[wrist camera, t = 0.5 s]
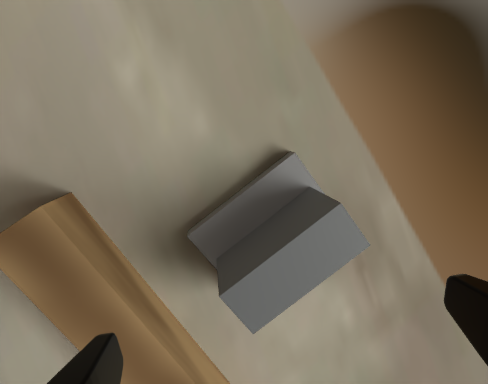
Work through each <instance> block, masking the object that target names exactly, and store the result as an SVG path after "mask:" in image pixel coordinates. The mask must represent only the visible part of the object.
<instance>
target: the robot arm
mask: <svg viewBox="0 0 488 384" xmlns="http://www.w3.org/2000/svg"><path fill="white" fill-rule="evenodd" d="M444 304H445V307H446V309H447V310H448V312H449V313H450V315H451V316H452V317H453V319H454V320H455V322H456V323H457V324H458V326H459V327H460V329H461V330H462V331H463V333H464V334H465V336H466V337H467V338H468V340H469V341H470V343H471V344H472V345H473V347H474V348H475V350H476V351H477V352H478V354H479V355H480V356H481V358H482V359H483V360H484V362H485V363H486V364H487V366H488V282H487V281H484V280H481V279H478V278H476V277H472V276H470V275H467V274H459V275H453V276H450V277H449V278H448V279H447V282H446V289H445V296H444ZM122 371H123V355H122V352H121V349H120V345H119V342H118V339H117V336H116V335H115V333H112V332H111V333H105V334H99V335H97V336H96V337H94V338H93V339H92V340H91V341H90V342H89V343H88V344H87V345H86V346H85V347H84V348H83V349H82V350H81V351H80V352H79V353H78V354H77V355H76V356H75V357H74V358H73V359H72V360H71V361H70V362H69V363H68V364H66V365H65V366H64V367H63V368H62V369H61V370H60V371H59V372H58V373H57V374H56V375H55V376H54V377H53V378H52V379H51V380H50V381H49V382H48V383H47V384H121V377H122Z"/></svg>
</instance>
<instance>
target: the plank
mask: <svg viewBox="0 0 488 384" xmlns="http://www.w3.org/2000/svg"><path fill="white" fill-rule="evenodd" d="M0 269H1V270H2V271H3V272H4V273H5V274H6V275H7V276H8V277H9V278H10V279H11V280H12V281H13V282H14V283H15V284H16V285H17V287H18V288H19V289H20V290H21V291H22V292H23V293H24V294H25V295H26V296H27V297H28V298H29V299H30V300H31V301H32V302H33V303H34V304H35V305H36V306H37V307H38V308H39V309H40V310H41V311H42V312H43V313H44V314H45V315H46V317H47V318H48V319H49V320H50V321H51V322H52V323H53V324H54V325H55V326H56V327H57V328H58V329H59V330H60V331H61V332H62V333H63V334H64V335H65V336H66V337H67V338H68V339H69V340H70V341H71V342H72V343H73V344H74V345H75V346H76V348H77V349H78V350H79V351H81V350H82V349H83V348H84V347H85V346H86V345H87V344H88V343H89V342H90V341H91V340H92V339H93V338H94V337H96V336H97V335H99V334H105V333H111V332H112V333H115V335H116V336H117V339H118V342H119V345H120V349H121V352H122V355H123V371H122V377H121V384H230V383H229V381H228V380H227V379H226V378H225V377H224V375H223V374H222V373H221V372H220V371H219V369H218V368H217V367H216V366H215V365H214V363H213V362H212V361H211V360H210V359H209V357H208V356H207V355H206V354H205V353H204V351H203V350H202V349H201V348H200V347H199V345H198V344H197V343H196V342H195V340H194V339H193V338H192V337H191V336H190V334H189V333H188V332H187V331H186V330H185V328H184V327H183V326H182V325H181V324H180V322H179V321H178V320H177V319H176V318H175V316H174V315H173V314H172V313H171V312H170V310H169V309H168V308H167V307H166V306H165V304H164V303H163V302H162V301H161V300H160V298H159V297H158V296H157V295H156V294H155V292H154V291H153V290H152V289H151V288H150V286H149V285H148V284H147V283H146V281H145V280H144V279H143V278H142V277H141V275H140V274H139V273H138V272H137V271H136V269H135V268H134V267H133V266H132V265H131V263H130V262H129V261H128V260H127V259H126V257H125V256H124V255H123V254H122V253H121V251H120V250H119V249H118V248H117V247H116V245H115V244H114V243H113V242H112V241H111V239H110V238H109V237H108V236H107V235H106V233H105V232H104V231H103V230H102V229H101V227H100V226H99V225H98V224H97V222H96V221H95V220H94V219H93V218H92V216H91V215H90V214H89V213H88V212H87V210H86V209H85V208H84V207H83V206H82V204H81V203H80V202H79V201H78V200H77V198H76V197H75V196H74V195H73V194H72V192H71V193H69V194H67V195H64V196H62V197H60V198H58V199H55V200H53V201H51V202H49V203H46V204H44V205H42V206H40V207H38V208H37V209H35V210H34V211H32V212H31V213H30V214H28V215H27V216H25V217H24V218H22V219H21V220H19V221H18V222H16V223H15V224H13V225H12V226H10V227H9V228H7V229H6V230H4V231H3V232H1V233H0Z"/></svg>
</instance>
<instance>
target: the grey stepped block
mask: <svg viewBox="0 0 488 384" xmlns="http://www.w3.org/2000/svg"><path fill="white" fill-rule="evenodd" d="M187 237H188V238H189V239H190V240H191V241H192V242H193V244H194V245H195V246H196V247H197V248H198V249H199V250H200V252H201V253H202V254H203V255H204V256H205V257H206V258H207V259H208V261H209V262H210V263H211V264H212V265H213V266H214V267H215V269H216V270H217V272H218V288H219V297H220V298H221V299H222V300H223V301H224V303H225V304H226V305H227V306H228V307H229V308H230V309H231V310H232V311H233V313H234V314H235V315H236V316H237V317H238V318H239V319H240V320H241V321H242V322H243V324H244V325H245V326H246V327H247V328H248V329H249V330H250V331H251V332H252V333H253V334H254V333H256V332H257V331H258V330H259V329H261V328H262V327H263V326H265V325H266V324H267V323H269V322H270V321H271V320H273V319H274V318H275V317H277V316H278V315H279V314H281V313H282V312H283V311H285V310H286V309H287V308H288V307H290V306H291V305H292V304H294V303H295V302H296V301H298V300H299V299H300V298H302V297H303V296H304V295H306V294H307V293H308V292H310V291H311V290H312V289H314V288H315V287H316V286H317V285H319V284H320V283H321V282H323V281H324V280H325V279H327V278H328V277H329V276H331V275H332V274H333V273H335V272H336V271H337V270H339V269H340V268H341V267H342V266H344V265H345V264H346V263H348V262H349V261H350V260H352V259H353V258H354V257H356V256H357V255H358V254H360V253H361V252H362V251H364V250H365V249H366V248H368V247H369V246H370V244H369V242H368V241H367V240H366V238H365V237H364V235H363V234H362V232H361V231H360V230H359V228H358V227H357V225H356V224H355V222H354V221H353V219H352V218H351V217H350V215H349V214H348V212H347V211H346V209H345V208H344V207H343V205H342V204H341V203H340V202H338V201H336V200H334V199H332V198H331V197H329V196H327V195H325V194H324V193H323V191H322V190H321V188H320V187H319V186H318V184H317V183H316V181H315V180H314V178H313V177H312V176H311V174H310V173H309V171H308V170H307V169H306V167H305V166H304V164H303V163H302V162H301V160H300V159H299V157H298V156H297V154H296V153H295V152H291V151H290V152H289V153H287V154H286V155H285V156H284V157H282V158H281V159H280V160H278V161H277V162H276V163H275V164H273V165H272V166H271V167H269V168H268V169H267V170H265V171H264V172H263V173H262V174H260V175H259V176H258V177H256V178H255V179H254V180H253V181H251V182H250V183H249V184H247V185H246V186H245V187H244V188H242V189H241V190H240V191H238V192H237V193H236V194H235V195H233V196H232V197H231V198H229V199H228V200H227V201H226V202H224V203H223V204H222V205H220V206H219V207H218V208H217V209H215V210H214V211H213V212H211V213H210V214H209V215H208V216H206V217H205V218H204V219H202V220H201V221H200V222H199V223H197V224H196V225H195V226H193V227H192V228H191V229H190V230H188V234H187Z"/></svg>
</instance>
